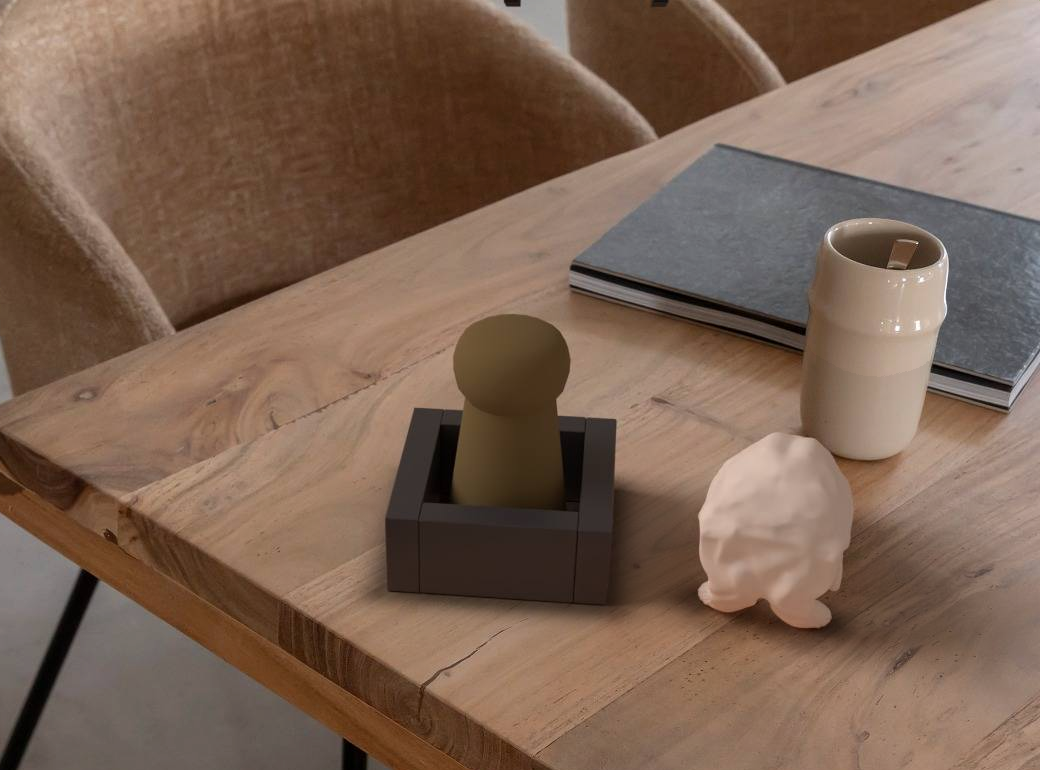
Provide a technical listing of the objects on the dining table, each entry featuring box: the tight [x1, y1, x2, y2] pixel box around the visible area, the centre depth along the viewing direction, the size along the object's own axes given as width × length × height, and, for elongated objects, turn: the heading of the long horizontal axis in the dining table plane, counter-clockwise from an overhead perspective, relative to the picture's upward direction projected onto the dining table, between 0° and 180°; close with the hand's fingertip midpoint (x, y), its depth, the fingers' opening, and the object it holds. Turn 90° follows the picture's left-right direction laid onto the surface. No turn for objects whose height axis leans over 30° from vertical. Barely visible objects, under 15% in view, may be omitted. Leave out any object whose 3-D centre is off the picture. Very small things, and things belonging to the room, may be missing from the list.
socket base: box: [384, 407, 618, 606], centre depth 69 cm, size 10×10×4 cm
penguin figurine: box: [697, 431, 855, 629], centre depth 65 cm, size 6×8×12 cm
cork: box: [448, 313, 572, 511], centre depth 67 cm, size 6×6×11 cm
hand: (585, 3), depth 76 cm, fingers open, 7 cm apart
